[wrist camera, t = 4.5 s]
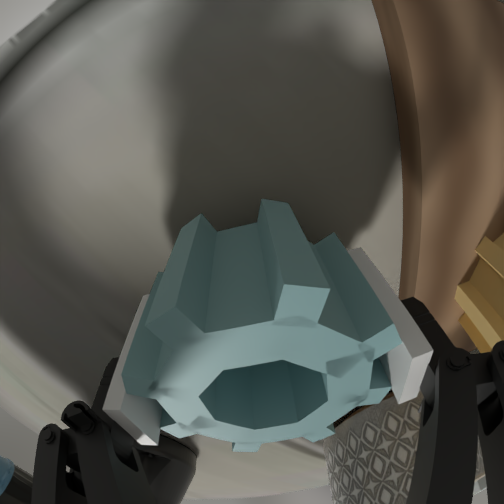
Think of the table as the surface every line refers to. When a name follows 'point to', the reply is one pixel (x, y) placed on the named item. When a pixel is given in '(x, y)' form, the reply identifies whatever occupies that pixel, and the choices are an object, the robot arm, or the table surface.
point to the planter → (377, 453)
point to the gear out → (484, 296)
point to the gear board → (447, 142)
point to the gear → (259, 334)
